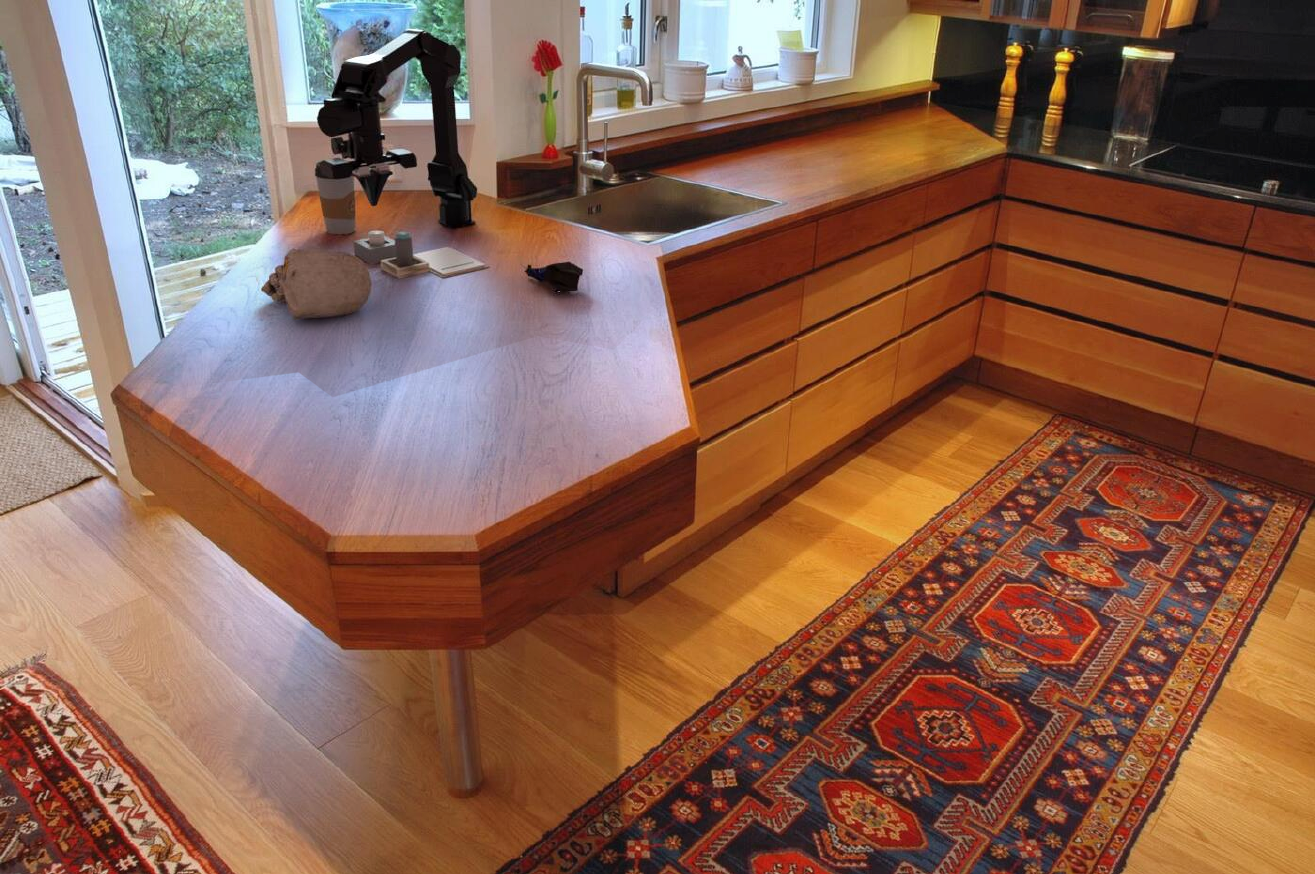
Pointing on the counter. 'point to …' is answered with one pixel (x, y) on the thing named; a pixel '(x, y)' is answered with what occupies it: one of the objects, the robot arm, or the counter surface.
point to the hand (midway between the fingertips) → (373, 205)
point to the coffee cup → (337, 202)
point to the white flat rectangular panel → (449, 262)
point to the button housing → (375, 250)
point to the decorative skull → (320, 283)
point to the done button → (376, 238)
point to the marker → (404, 249)
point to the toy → (557, 275)
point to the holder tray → (417, 268)
